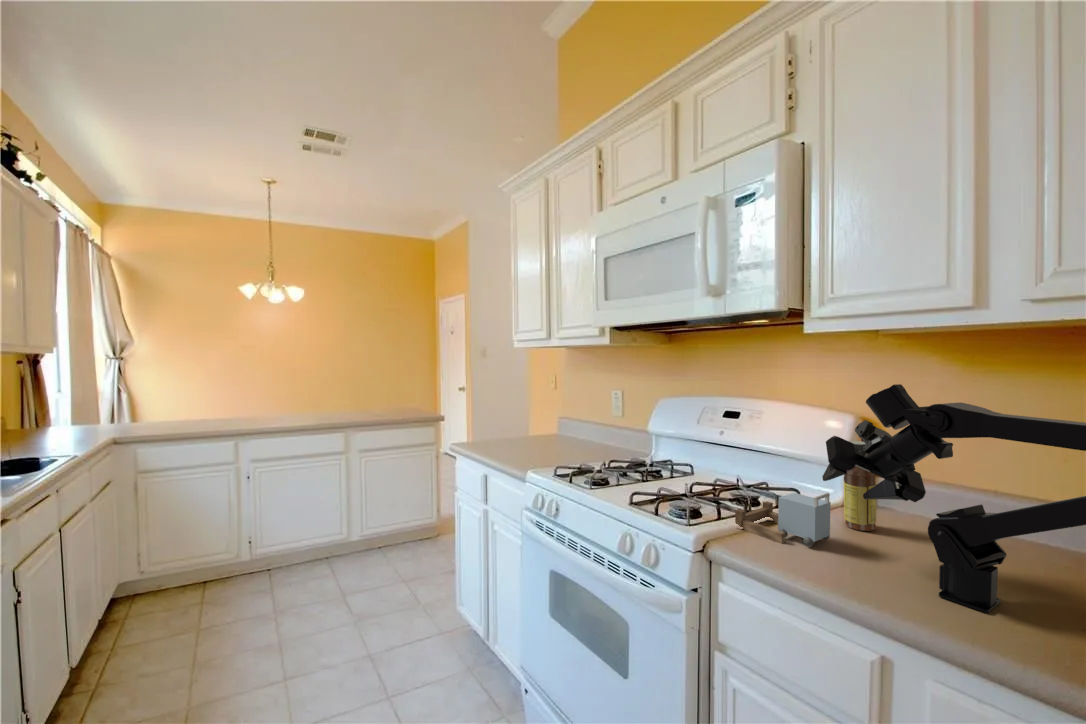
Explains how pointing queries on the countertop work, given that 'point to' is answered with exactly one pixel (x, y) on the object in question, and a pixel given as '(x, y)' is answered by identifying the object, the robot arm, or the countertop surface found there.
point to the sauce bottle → (859, 496)
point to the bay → (748, 524)
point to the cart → (805, 517)
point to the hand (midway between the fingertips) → (843, 487)
